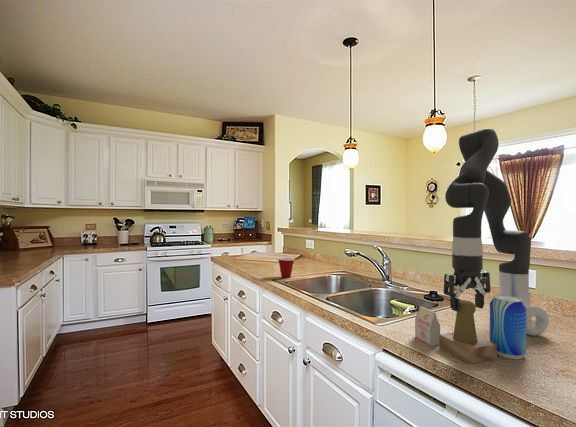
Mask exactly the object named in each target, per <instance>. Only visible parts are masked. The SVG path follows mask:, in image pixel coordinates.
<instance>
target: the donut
mask: <svg viewBox="0 0 576 427" xmlns="http://www.w3.org/2000/svg"><path fill="white" fill-rule="evenodd" d="M534 316H535V321H534V323H532V324H531V319H532V318H533V317H534ZM549 323H550V319H549V315H548V313H547V311H546V310H545V309H544V308H543V307H541V306H539V305H537V304H536V305H535V304H530V305H529V306H526V335H529V336H532V337H533V336H534V337H536V336H540V335H542V334H543V333H545V332H546V331H547V329H548V328H549Z"/></svg>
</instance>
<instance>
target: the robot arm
mask: <svg viewBox="0 0 576 427" xmlns="http://www.w3.org/2000/svg"><path fill="white" fill-rule="evenodd" d="M499 143H500V142H499V138H498V135H497V132H496V131H495V130H494V129H493V128H491V127H486V128H482V129H479V130H476V131H472V132H469V133H467V134H463V135H461V136H460V137H459V139H458V146H459V150H460V153H461V156H462V157H463V158H462V159H463V161H464V162H463V164H462V165H461V167H460V169H459V173H458V176H456V178H455V179H454V180H452V182H451V183H450V184H449V185H448V186H447V189H446V191H445V194H444V195H445V202H446V204H447V205H448V206H449V207H450V208H455V209H470V208H471V209H472V211H471V212H470V213H469V214H466V215H461V216H456V217H454V218H453V220H452V242H451V267H452V269H453V270H454V271H453V274H450V273H445V274H444V277H443V294H444V295H445V296H449V299H450V300H449V301H450V308H451V310H452V311H454V312H456V313H457V311H459V300H460V296H461V294H462V293H464V292H465V290H469V289H473V291H474V293H475V294H474V305H475V307H476V308H478V309H484V306H485V296H486V295H487V294H488V293H489V294H490V293H491V276H490V275H491V274H490V272H489V271H488V272H487V271H484V270H483V268H484V267H483V266H484V264H483V262H484V261H483V260H484V259H483V256H484V255H483V248H484V246H483V242H482V222H483V221H482V220H483V216H484V214H485V217H486V219H487V220H486V221H487V223H488V227H489V231H490V236H491V239H492V244H493V246H494V248H495V250H496V251H497V252H498V253H500V254H507V255H514V257H513V259H512V260H510V261H506V262H501V263H499V266H498V295H509V296H514V297H518V298H520V299H522V303H523V304H524V306H525V307H526V306H529V305H531V292H530V281H529V280H530V277H529V276H530V275H529V274H530V267H531V266H530V265H531V251H532V250H531V249H532V238H531V235H530V234H529V232H528V231H525V230H524V231H523V230H512V229H511V230H507V229H506V228H505V225H504V218H505V216H506V215H507V214H508V211H509V209H510V208H511V204H512V198H511V195H510V192H509V188H508V186H507V184H506V183H505V181H503V179H501V178H500V177H498V176H497V175H495V173H494V174H493V173H492V172H491V171H489V170H488V168H489V166H490V164H491V163H492V161H493V160H494V157H495V156H496V154H497V152H498V149H499Z"/></svg>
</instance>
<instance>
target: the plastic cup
mask: <svg viewBox="0 0 576 427" xmlns="http://www.w3.org/2000/svg"><path fill="white" fill-rule="evenodd" d="M277 260H278V264H279V271H280V276H281V278H282V277H284V278H283V279H291V277H292V273H293V272H292V271H293V266H294V262H295V261H296V259H295V258H292V257H278V258H277Z"/></svg>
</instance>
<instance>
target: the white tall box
mask: <svg viewBox="0 0 576 427" xmlns="http://www.w3.org/2000/svg"><path fill="white" fill-rule="evenodd" d="M414 320H415V321H414V322H415V324H414V328H415V329H414V330H415V331H414V334H415V336H414V337H415V338H416V339H418V340H420V342H423V343H424V344H426V345H428V346H429V347H431V346H439V334H441V324H440V322H439V319H438V317H437V314H436V312H435V311H432V310H430V309H428V308H427V307H423V306H422V305H419V306H418V311H417V313H416V316H415V319H414Z"/></svg>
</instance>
